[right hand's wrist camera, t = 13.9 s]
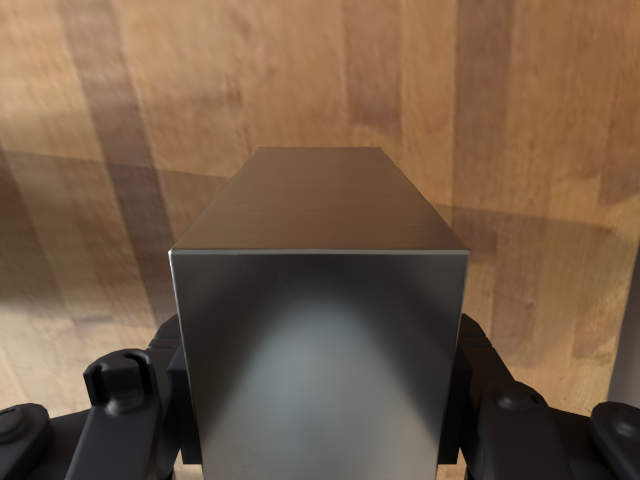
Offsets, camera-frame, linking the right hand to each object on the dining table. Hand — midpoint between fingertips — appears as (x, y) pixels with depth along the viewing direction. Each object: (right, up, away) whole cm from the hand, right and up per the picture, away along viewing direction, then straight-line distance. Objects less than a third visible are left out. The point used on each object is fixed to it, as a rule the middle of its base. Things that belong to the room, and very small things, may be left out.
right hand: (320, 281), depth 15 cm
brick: (0, +1, +3) cm, 3 cm away
